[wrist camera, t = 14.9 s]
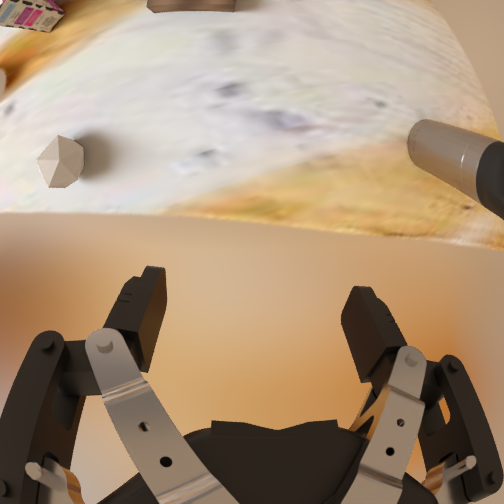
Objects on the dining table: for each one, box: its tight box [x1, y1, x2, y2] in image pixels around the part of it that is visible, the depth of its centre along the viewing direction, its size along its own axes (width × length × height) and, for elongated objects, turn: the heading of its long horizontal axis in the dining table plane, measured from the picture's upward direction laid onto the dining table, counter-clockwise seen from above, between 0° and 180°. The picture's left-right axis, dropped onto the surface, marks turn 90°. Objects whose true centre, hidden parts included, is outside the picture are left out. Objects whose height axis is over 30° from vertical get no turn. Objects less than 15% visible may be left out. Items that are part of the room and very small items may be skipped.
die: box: [36, 135, 84, 188], centre depth 34 cm, size 8×9×10 cm
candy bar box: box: [0, 0, 66, 33], centre depth 14 cm, size 11×5×16 cm, turn 38°
